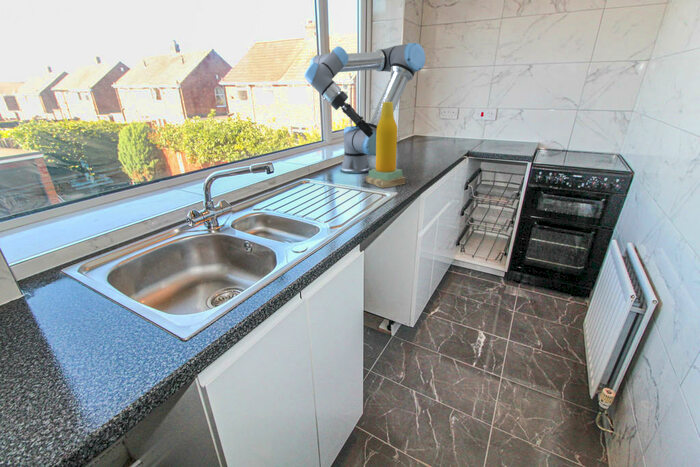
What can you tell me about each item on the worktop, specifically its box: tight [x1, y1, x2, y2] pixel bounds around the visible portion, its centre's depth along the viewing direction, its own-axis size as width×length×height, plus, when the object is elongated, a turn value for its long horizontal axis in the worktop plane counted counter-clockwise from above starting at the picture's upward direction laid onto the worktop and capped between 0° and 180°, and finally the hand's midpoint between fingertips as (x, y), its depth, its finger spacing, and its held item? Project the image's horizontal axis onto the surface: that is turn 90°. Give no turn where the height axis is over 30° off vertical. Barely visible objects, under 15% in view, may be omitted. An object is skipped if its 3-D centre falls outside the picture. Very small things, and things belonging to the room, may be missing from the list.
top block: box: [368, 168, 403, 181], centre depth 151 cm, size 11×11×3 cm
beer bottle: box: [375, 102, 398, 172], centre depth 145 cm, size 9×9×29 cm
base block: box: [365, 174, 406, 189], centre depth 153 cm, size 13×13×3 cm
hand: (371, 133), depth 144 cm, fingers open, 13 cm apart
